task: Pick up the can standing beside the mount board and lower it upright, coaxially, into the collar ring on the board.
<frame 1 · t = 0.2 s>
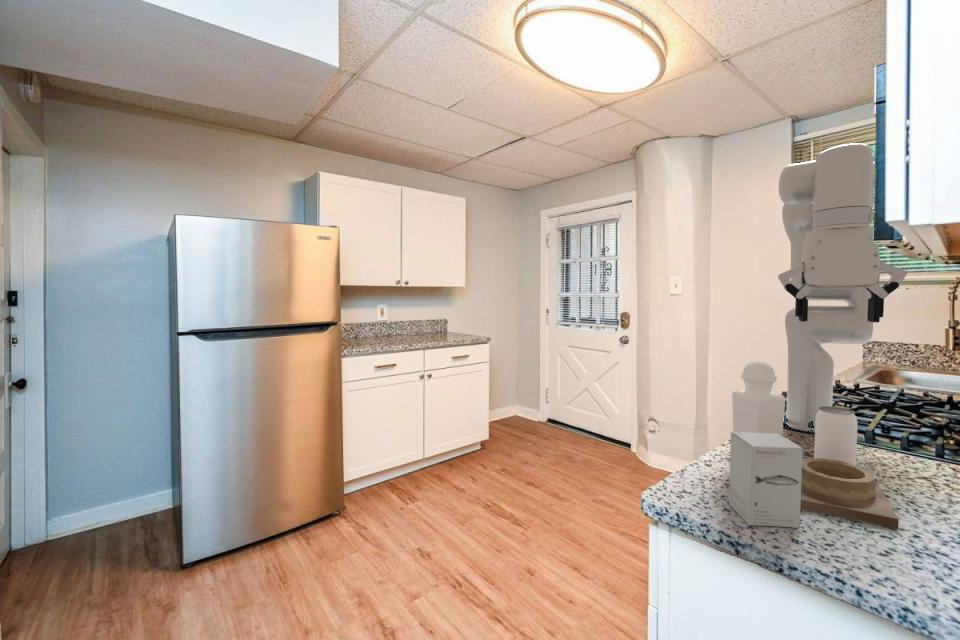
hand: (837, 321, 75), 30 cm above the table, tool pointing down, fingers open, 9 cm apart
supplement box: (762, 517, 69), on the table
mount board: (834, 494, 76), on the table
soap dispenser: (756, 470, 87), on the table
can: (834, 469, 86), on the table
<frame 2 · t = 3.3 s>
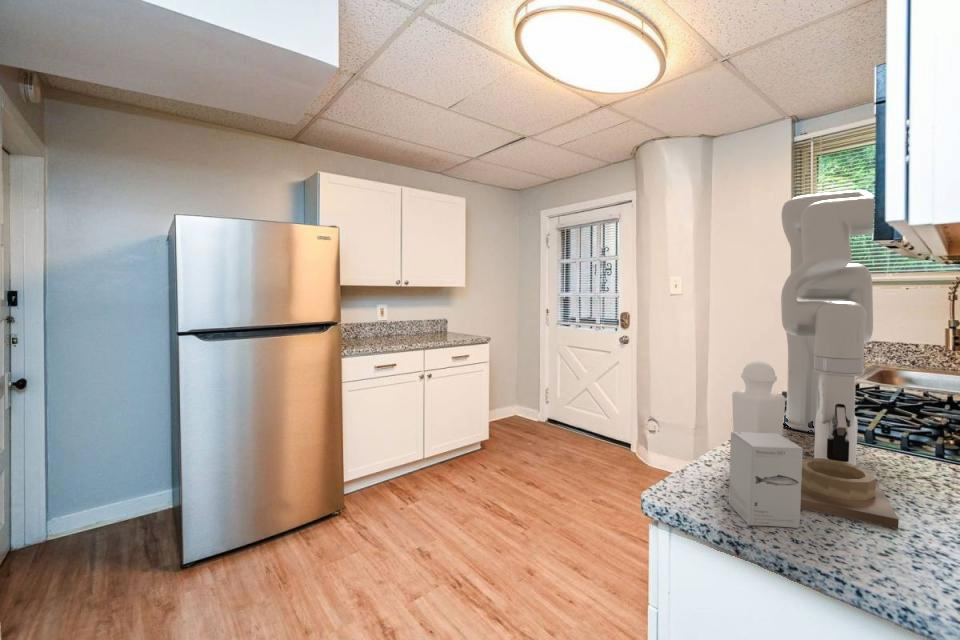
hand: (834, 453, 86), 3 cm above the table, tool pointing down, fingers closed on can, 6 cm apart
can: (834, 469, 86), on the table, touching gripper
everything else where it was.
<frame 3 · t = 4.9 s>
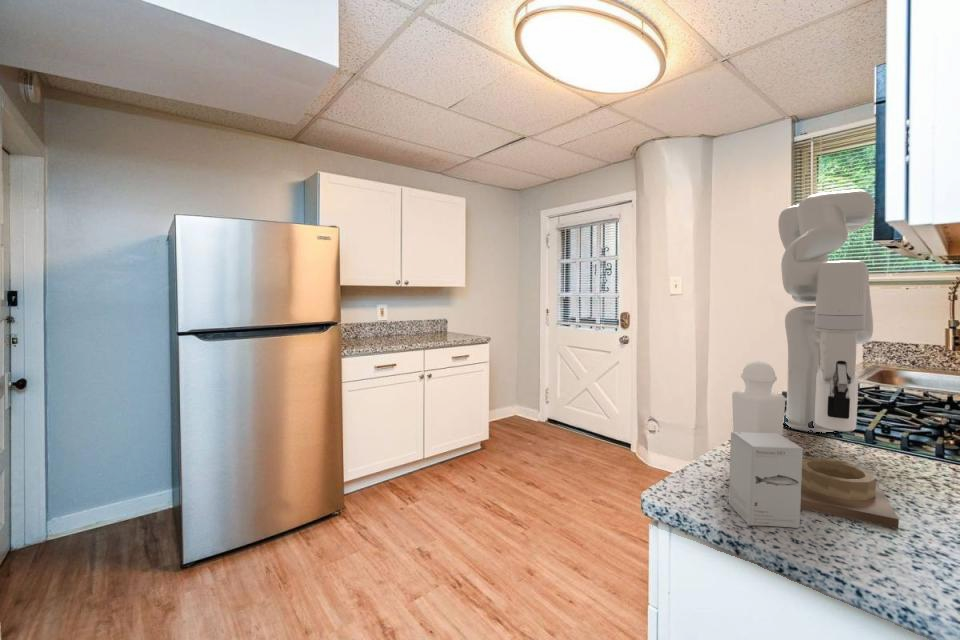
hand: (835, 411, 86), 11 cm above the table, tool pointing down, fingers closed on can, 6 cm apart
can: (834, 427, 87), point 8 cm above the table, touching gripper
everything else where it was.
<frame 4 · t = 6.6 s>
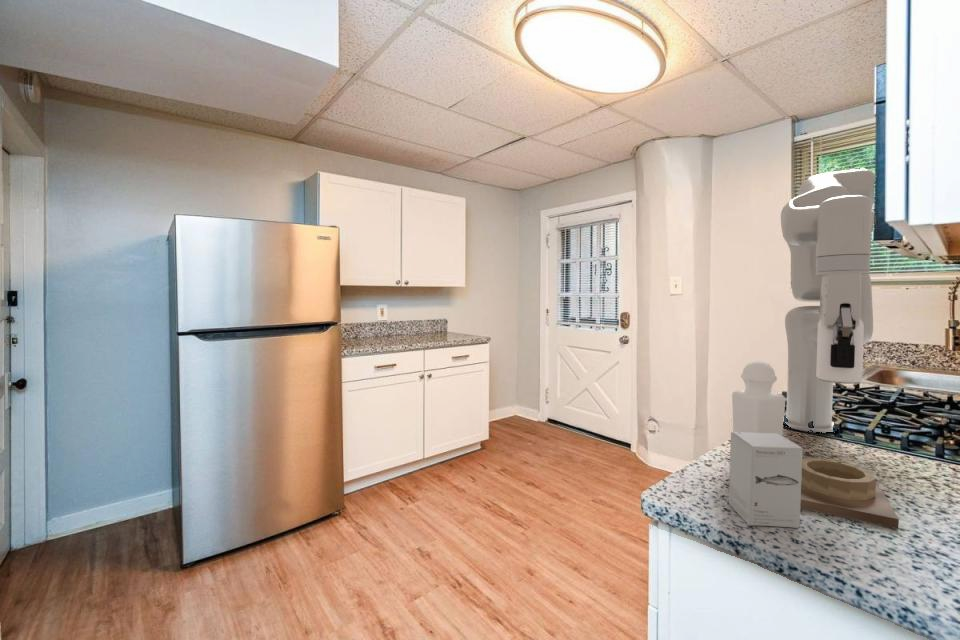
hand: (838, 363, 79), 22 cm above the table, tool pointing down, fingers closed on can, 6 cm apart
can: (838, 381, 79), point 19 cm above the table, touching gripper
everything else where it was.
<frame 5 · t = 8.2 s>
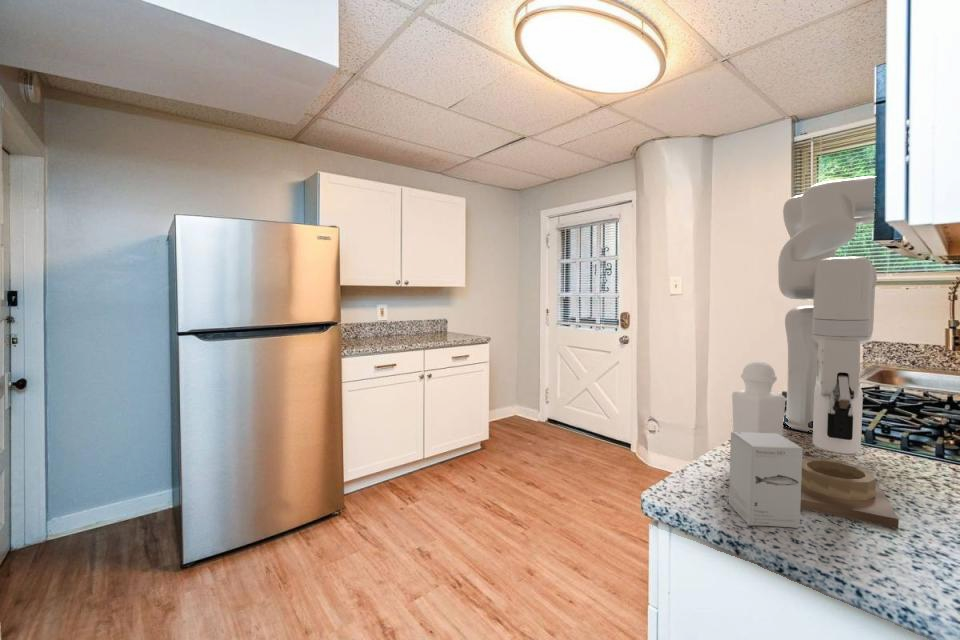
hand: (836, 431, 75), 11 cm above the table, tool pointing down, fingers closed on can, 6 cm apart
can: (835, 449, 75), point 8 cm above the table, touching gripper
everything else where it was.
when the fingers open (6 cm above the table, at t = 9.9 s): can drops 1 cm, resting on mount board.
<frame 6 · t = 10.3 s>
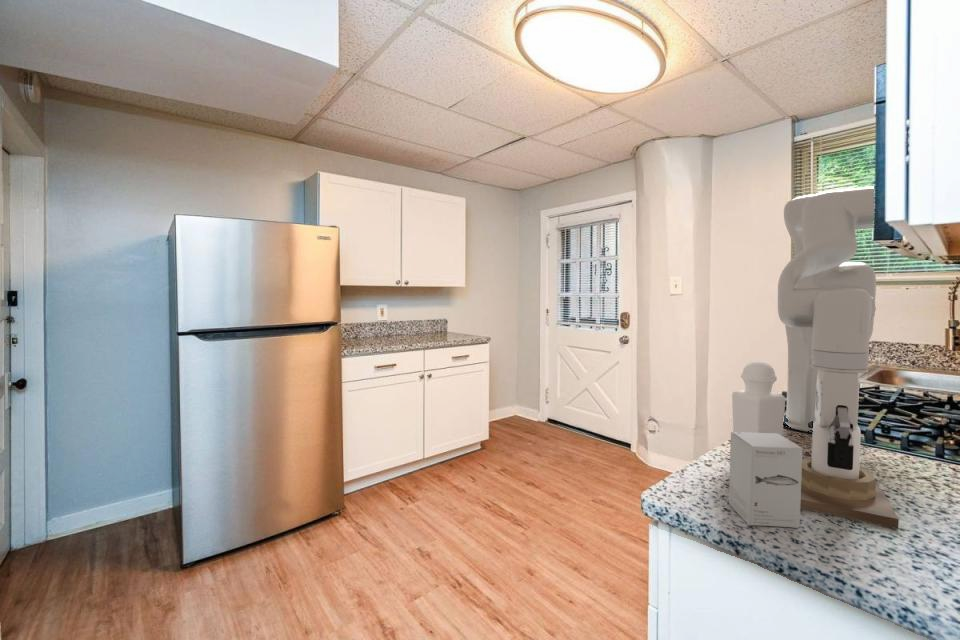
hand: (835, 458, 75), 7 cm above the table, tool pointing down, fingers open, 9 cm apart
can: (834, 486, 76), point 1 cm above the table, touching mount board
everything else where it was.
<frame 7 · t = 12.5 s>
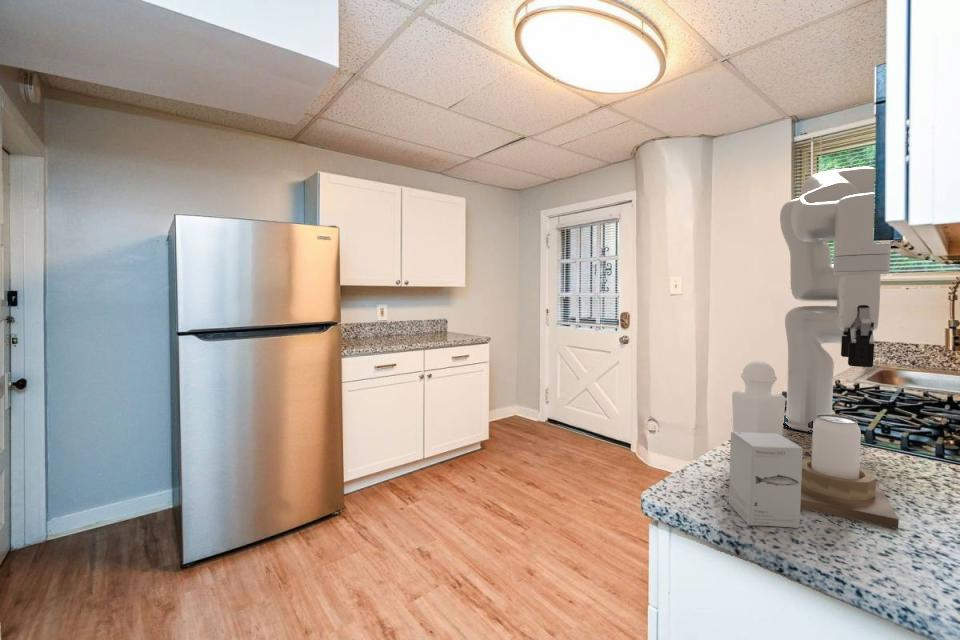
hand: (855, 361, 78), 23 cm above the table, tool pointing down, fingers open, 9 cm apart
nothing on the table moved.
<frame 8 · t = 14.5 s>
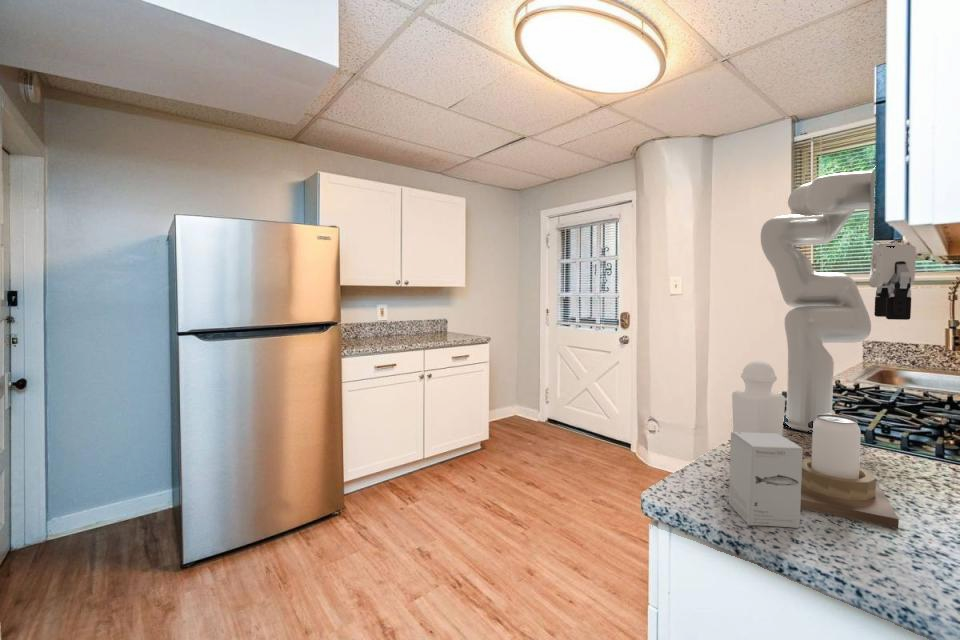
hand: (891, 317, 83), 30 cm above the table, tool pointing down, fingers open, 9 cm apart
nothing on the table moved.
at the end: can 0.4 cm off-centre on the mount board, point 1.3 cm above the mount board's base; can tilted 0°; the gripper is holding nothing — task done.
